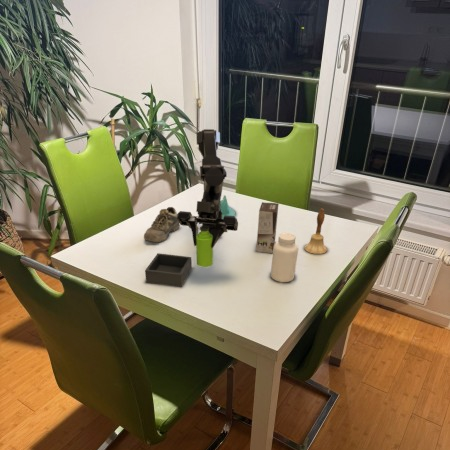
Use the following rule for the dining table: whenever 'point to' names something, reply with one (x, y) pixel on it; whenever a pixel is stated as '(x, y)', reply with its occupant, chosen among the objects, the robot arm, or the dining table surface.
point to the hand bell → (317, 237)
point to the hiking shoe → (163, 225)
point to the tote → (168, 269)
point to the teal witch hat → (226, 208)
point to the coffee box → (267, 227)
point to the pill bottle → (284, 258)
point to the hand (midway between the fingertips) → (203, 246)
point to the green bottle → (204, 247)
